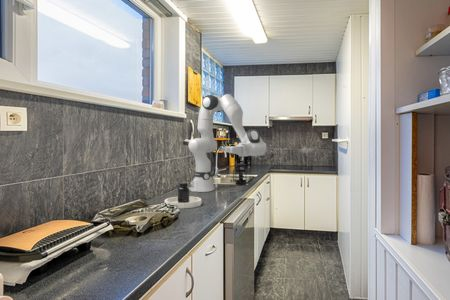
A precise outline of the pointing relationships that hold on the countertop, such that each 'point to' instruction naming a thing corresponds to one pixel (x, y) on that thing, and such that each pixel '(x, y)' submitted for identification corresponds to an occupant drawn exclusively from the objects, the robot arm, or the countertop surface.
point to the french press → (240, 175)
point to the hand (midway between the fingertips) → (220, 149)
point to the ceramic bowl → (191, 204)
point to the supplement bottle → (183, 193)
